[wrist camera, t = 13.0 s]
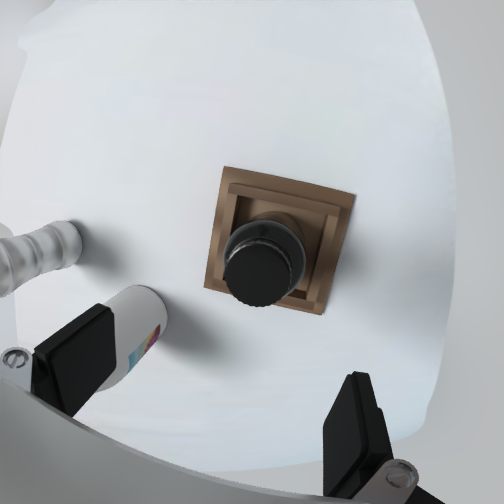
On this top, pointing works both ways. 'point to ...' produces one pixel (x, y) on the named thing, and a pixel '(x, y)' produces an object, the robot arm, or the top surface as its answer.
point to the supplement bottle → (265, 259)
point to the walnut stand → (300, 209)
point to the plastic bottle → (37, 254)
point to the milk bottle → (134, 328)
